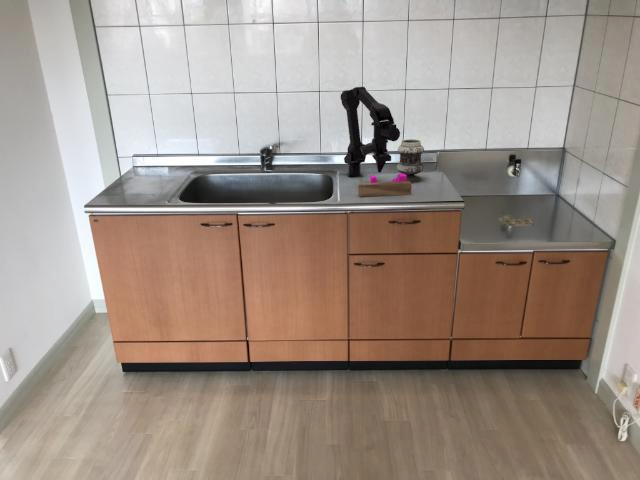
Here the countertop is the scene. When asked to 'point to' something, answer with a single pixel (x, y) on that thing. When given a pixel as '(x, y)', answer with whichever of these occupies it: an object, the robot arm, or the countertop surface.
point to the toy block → (400, 178)
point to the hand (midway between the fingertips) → (379, 172)
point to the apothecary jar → (410, 159)
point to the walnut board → (384, 189)
